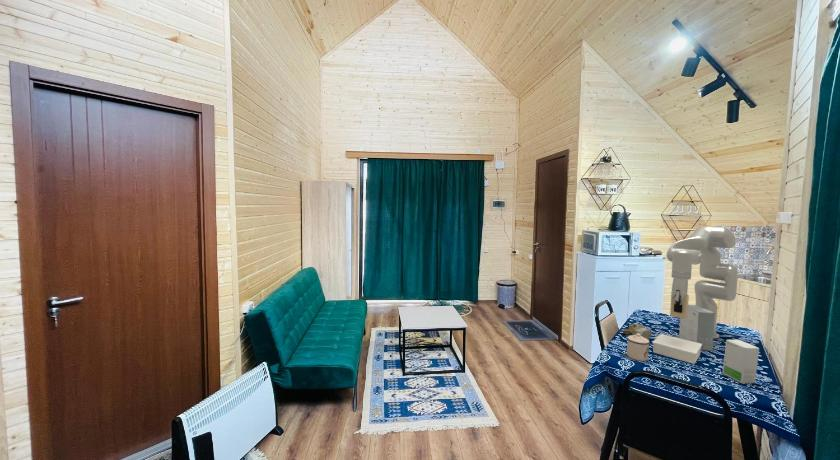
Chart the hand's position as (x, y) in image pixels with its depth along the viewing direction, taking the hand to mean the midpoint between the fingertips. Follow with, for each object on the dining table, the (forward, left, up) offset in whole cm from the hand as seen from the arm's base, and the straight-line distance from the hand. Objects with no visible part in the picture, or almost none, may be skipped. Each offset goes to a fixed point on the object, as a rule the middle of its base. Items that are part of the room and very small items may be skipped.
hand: (679, 310), depth 158 cm
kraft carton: (0, 0, -3) cm, 3 cm away
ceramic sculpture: (-10, -19, -22) cm, 31 cm away
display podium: (0, 0, -22) cm, 22 cm away
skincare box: (+10, +23, -22) cm, 33 cm away
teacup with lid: (+19, -12, -22) cm, 31 cm away
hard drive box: (-21, +4, -22) cm, 31 cm away
